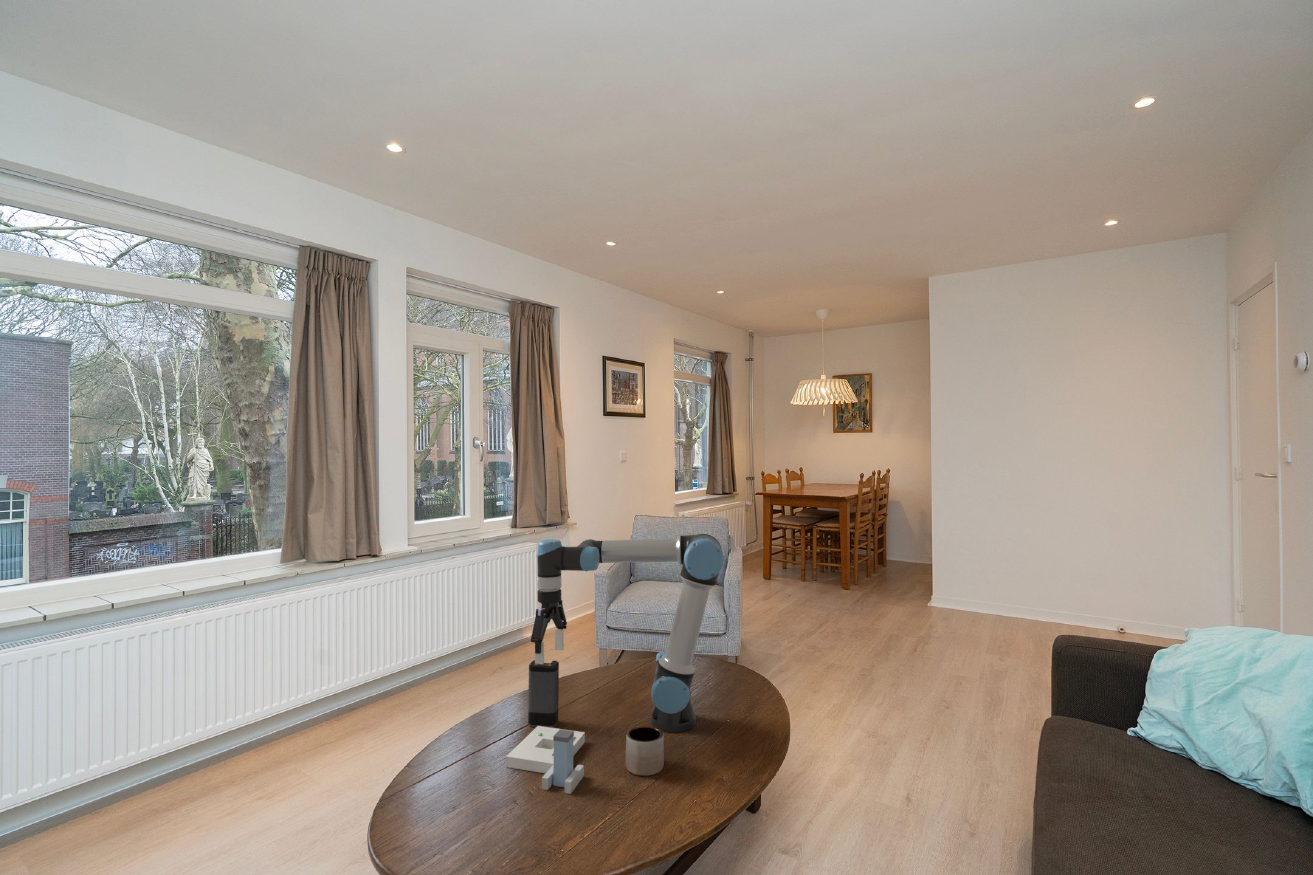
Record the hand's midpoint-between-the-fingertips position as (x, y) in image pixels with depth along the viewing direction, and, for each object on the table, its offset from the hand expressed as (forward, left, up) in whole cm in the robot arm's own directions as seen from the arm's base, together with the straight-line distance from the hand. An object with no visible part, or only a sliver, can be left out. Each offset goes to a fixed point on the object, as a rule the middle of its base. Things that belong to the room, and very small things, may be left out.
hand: (549, 656), depth 192 cm
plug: (-16, +24, -25) cm, 38 cm away
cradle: (-16, +24, -25) cm, 38 cm away
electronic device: (+5, -7, -25) cm, 27 cm away
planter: (-35, +10, -25) cm, 44 cm away
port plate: (-5, +11, -25) cm, 28 cm away
